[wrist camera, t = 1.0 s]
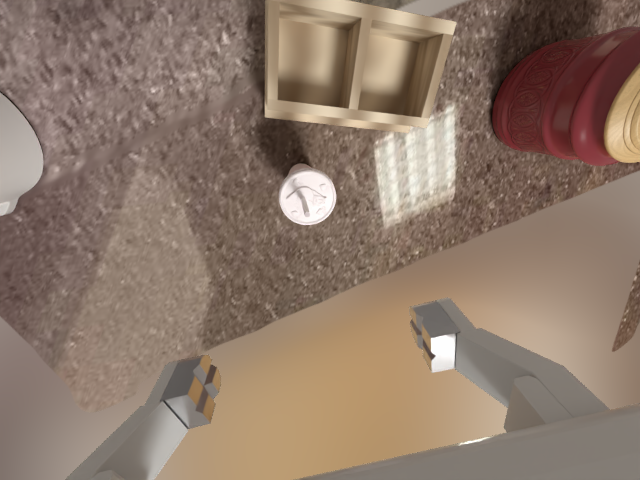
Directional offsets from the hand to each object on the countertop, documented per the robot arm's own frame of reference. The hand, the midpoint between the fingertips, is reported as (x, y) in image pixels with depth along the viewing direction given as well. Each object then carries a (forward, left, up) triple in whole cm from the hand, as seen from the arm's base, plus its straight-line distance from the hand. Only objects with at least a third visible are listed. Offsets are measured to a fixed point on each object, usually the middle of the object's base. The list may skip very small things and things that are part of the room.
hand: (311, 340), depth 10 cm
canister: (+34, +12, -29) cm, 46 cm away
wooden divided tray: (+6, +12, -29) cm, 32 cm away
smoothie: (+2, -1, -29) cm, 29 cm away
